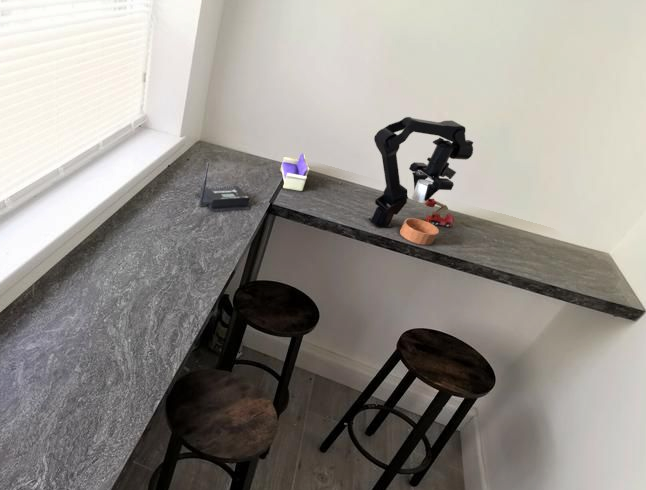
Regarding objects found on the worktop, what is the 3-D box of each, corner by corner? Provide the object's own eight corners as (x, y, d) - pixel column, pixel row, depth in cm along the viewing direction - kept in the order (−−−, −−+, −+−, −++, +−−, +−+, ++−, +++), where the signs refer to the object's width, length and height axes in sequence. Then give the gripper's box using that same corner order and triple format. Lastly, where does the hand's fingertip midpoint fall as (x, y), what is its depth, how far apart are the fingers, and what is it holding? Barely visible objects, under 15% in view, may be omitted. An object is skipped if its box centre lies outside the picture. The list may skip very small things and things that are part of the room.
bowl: (412, 245, 182) (418, 234, 179) (393, 228, 191) (398, 218, 188) (440, 244, 185) (445, 234, 182) (419, 228, 194) (424, 218, 191)
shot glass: (426, 205, 186) (435, 188, 181) (408, 199, 188) (416, 182, 184) (429, 200, 190) (438, 183, 186) (411, 194, 193) (419, 177, 189)
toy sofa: (279, 170, 224) (285, 148, 218) (298, 173, 224) (304, 151, 218) (282, 188, 208) (289, 165, 202) (302, 192, 208) (310, 169, 201)
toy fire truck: (451, 227, 198) (463, 206, 192) (418, 222, 198) (429, 200, 192) (448, 224, 201) (460, 202, 195) (415, 218, 201) (426, 197, 195)
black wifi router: (233, 192, 198) (242, 151, 188) (249, 209, 188) (261, 166, 178) (188, 195, 191) (196, 152, 181) (203, 212, 181) (212, 168, 171)
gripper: (475, 169, 174) (453, 208, 183) (442, 149, 188) (423, 186, 197) (449, 167, 171) (428, 208, 181) (417, 147, 185) (400, 185, 195)
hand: (420, 196), depth 188 cm, fingers closed on shot glass, 6 cm apart
